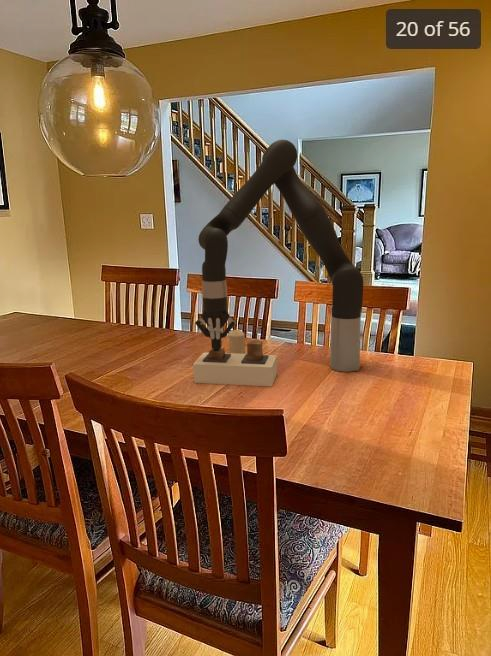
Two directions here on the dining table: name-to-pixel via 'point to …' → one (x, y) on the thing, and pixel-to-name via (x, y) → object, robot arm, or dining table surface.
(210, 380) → the socket board
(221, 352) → the peg
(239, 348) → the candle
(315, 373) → the dining table surface
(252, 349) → the peg
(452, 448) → the dining table surface
